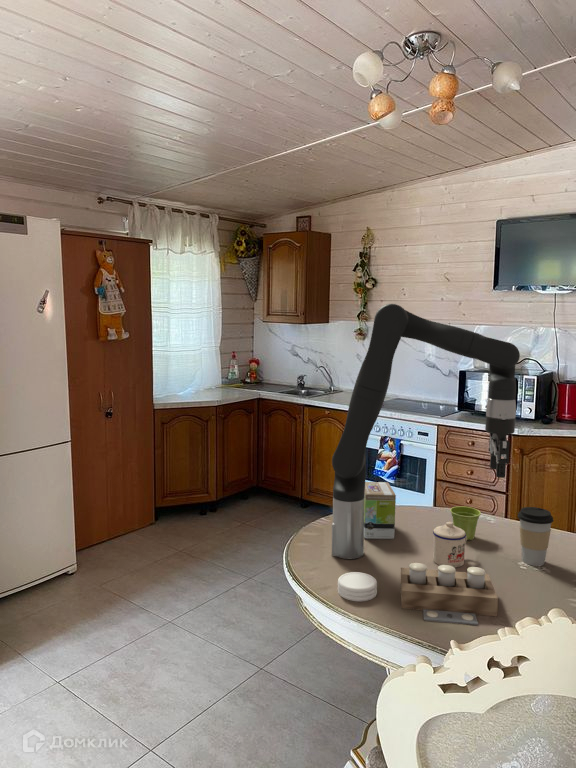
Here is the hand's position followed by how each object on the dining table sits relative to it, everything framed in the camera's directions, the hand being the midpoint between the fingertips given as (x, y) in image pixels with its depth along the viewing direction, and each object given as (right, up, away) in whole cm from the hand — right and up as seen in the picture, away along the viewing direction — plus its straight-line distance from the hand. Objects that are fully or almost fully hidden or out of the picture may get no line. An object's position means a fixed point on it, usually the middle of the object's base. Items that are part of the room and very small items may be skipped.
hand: (497, 473), depth 156 cm
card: (-20, -30, -24) cm, 43 cm away
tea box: (-28, -24, +31) cm, 49 cm away
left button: (-25, -25, -14) cm, 38 cm away
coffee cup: (+13, -27, +7) cm, 31 cm away
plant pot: (-1, -25, +25) cm, 36 cm away
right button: (-11, -25, -17) cm, 32 cm away
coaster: (-40, -29, -11) cm, 51 cm away
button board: (-18, -29, -15) cm, 38 cm away
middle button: (-18, -25, -15) cm, 35 cm away
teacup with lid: (-10, -27, +8) cm, 30 cm away
